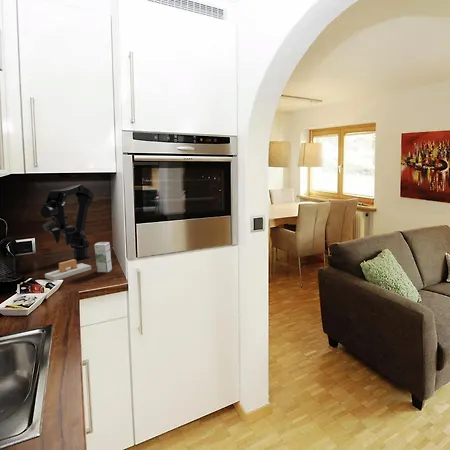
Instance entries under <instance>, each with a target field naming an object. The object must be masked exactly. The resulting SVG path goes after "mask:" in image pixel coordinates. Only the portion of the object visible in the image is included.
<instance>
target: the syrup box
mask: <svg viewBox="0 0 450 450" xmlns="http://www.w3.org/2000/svg"><path fill="white" fill-rule="evenodd" d="M94 254H95V255H94V256H95V263H96V264H95V266H96V272H97V273H109V272H111V271H112V270H113V266H112V258H111V257H112V255H111V245H110V241H99V242H98V241H97V242H96V243H95V244H94Z"/></svg>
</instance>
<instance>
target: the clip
mask: <svg viewBox="0 0 450 450" xmlns="http://www.w3.org/2000/svg"><path fill="white" fill-rule="evenodd" d="M77 264H78V261H77V259H74V258H73V259H69V260H65V261H61V262H58V270H59V272H61V273H63V272H66V268H68V267H71V269H77Z"/></svg>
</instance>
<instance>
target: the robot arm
mask: <svg viewBox="0 0 450 450" xmlns="http://www.w3.org/2000/svg"><path fill="white" fill-rule="evenodd" d="M72 195H74V196H75V197H76V201H77V203H78V211H77V215H76V221H75V225H69V223H67V219H68V216H67V215H66V209H65V208H66V207H65V206H66V205H67V202H65V201H66V200H67V199H68V197H70V196H72ZM94 197H95V196H94V193H93V191H91V190H90V189H89V188H87V187H85V186H84V185H83V184H81V183H80V184H77V183H76V184H73V185H70V186H68V187H65V188H61V189H51V190H49V192H48V194H47V199H46V200H45V203H44V204H43V206H42V207H41V208H40V211H39V213H40V215H41V217H42V218H44V219H48V218H51V220H50V221H47V222H45V223H44V224H42V228H43V229H44V231H45V232H48V233H50V234H51V235H52V237H53V239H54V241H55V244H59V242H60V237H61V235H63V237H64V240H65V244H66V246H70V247H71V249H73V259H75V260H79V261H81V260H85V259H88V258H90V256H89V254H88V248H89V247H90V245H91V244H90V243H91V242H89V241H88V239H87V235H86V233H85V227H86V221H87V216H88V211H89V207H90V206H91V204H92V203H93V201H94Z"/></svg>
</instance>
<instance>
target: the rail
mask: <svg viewBox="0 0 450 450" xmlns="http://www.w3.org/2000/svg"><path fill="white" fill-rule="evenodd" d="M91 270H92V265H89V264H85V263H82V262H81V263H77V269H71V267H68V268H66V272H63V273H61V272H59V269H57V270H52V271H50V272H47V273H44V279H47V280H50V281H53V280H56V281H59V280H63V279H65V278H69V277H71V276H75V275H78V274H80V273H81V274H82V273H84V272H87V271H91Z"/></svg>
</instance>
